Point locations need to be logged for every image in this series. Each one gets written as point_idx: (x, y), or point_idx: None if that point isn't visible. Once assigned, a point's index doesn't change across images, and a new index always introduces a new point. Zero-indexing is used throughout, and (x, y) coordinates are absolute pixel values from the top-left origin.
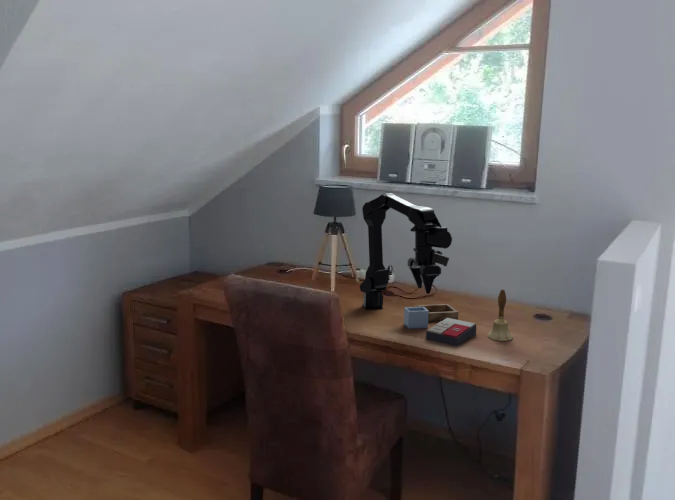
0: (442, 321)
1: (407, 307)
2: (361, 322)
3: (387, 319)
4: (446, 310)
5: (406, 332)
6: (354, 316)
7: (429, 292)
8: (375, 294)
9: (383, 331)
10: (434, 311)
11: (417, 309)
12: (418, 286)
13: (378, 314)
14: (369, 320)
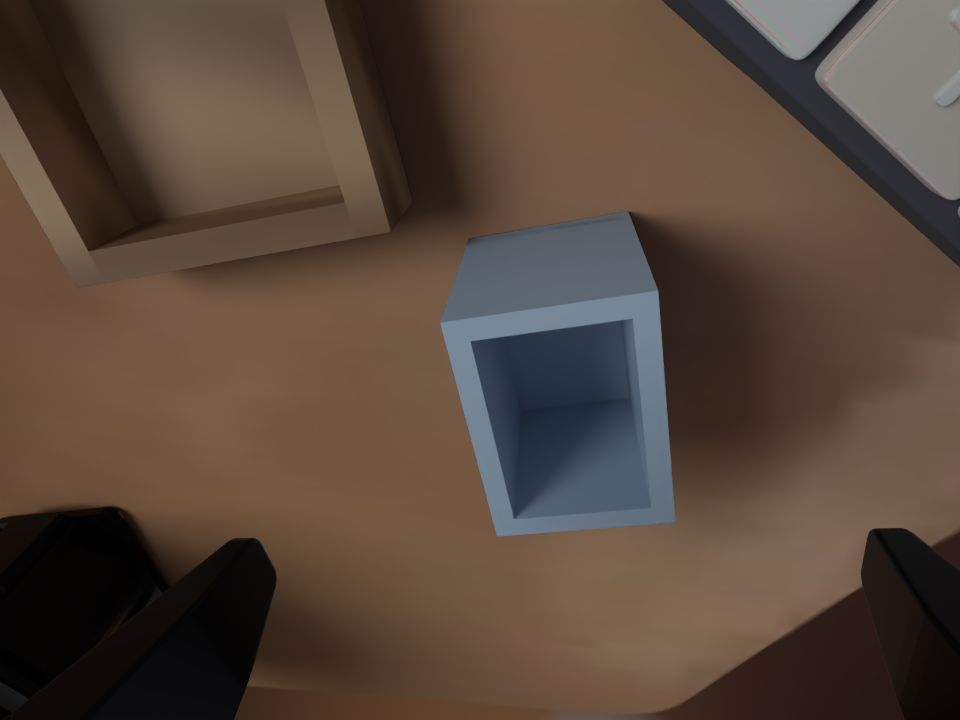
0: (856, 72)
1: (493, 508)
2: (478, 655)
3: (386, 510)
4: None
5: (746, 427)
6: (351, 670)
7: (929, 559)
8: (57, 661)
9: (692, 571)
10: (43, 39)
11: (488, 389)
12: (263, 609)
13: (269, 547)
14: (427, 612)
